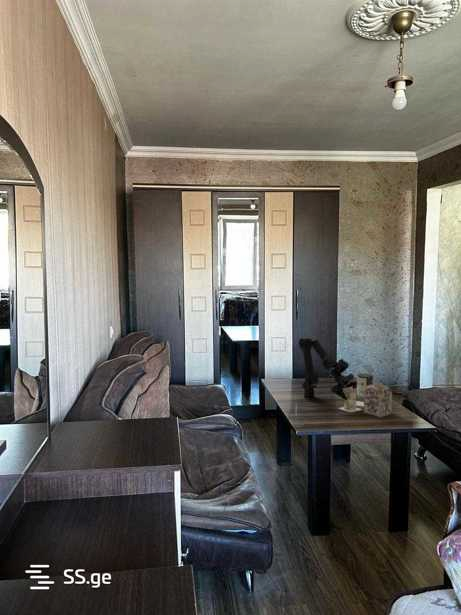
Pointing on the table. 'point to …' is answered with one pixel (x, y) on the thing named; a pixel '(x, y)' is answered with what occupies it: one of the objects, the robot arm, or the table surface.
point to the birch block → (350, 399)
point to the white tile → (351, 410)
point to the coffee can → (363, 383)
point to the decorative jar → (378, 400)
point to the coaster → (359, 403)
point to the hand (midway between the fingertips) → (352, 398)
